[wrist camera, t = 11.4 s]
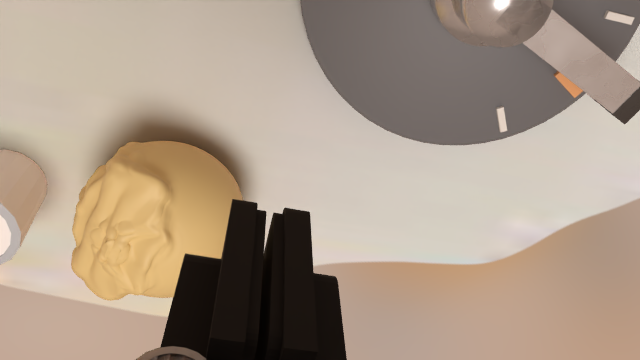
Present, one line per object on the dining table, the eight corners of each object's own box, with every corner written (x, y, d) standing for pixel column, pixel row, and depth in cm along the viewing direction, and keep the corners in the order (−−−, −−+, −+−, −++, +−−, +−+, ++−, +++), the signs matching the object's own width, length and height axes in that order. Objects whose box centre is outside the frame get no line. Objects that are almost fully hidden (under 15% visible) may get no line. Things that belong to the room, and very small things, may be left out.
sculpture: (124, 96, 43) (78, 165, 34) (269, 158, 46) (264, 236, 37) (80, 212, 48) (30, 299, 39) (215, 260, 51) (198, 352, 42)
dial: (407, -2, 38) (424, 20, 33) (478, -98, 35) (509, -89, 30) (562, 115, 43) (598, 150, 38) (636, 38, 40) (684, 65, 35)
